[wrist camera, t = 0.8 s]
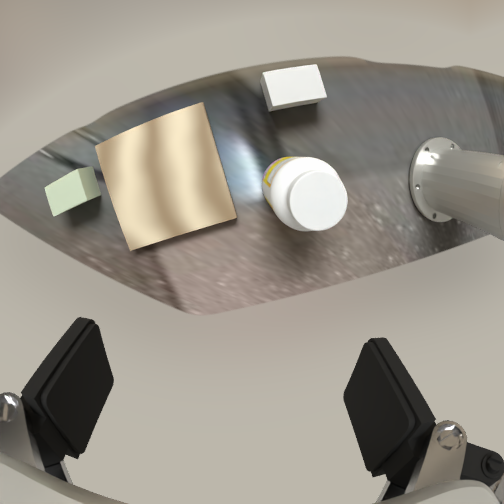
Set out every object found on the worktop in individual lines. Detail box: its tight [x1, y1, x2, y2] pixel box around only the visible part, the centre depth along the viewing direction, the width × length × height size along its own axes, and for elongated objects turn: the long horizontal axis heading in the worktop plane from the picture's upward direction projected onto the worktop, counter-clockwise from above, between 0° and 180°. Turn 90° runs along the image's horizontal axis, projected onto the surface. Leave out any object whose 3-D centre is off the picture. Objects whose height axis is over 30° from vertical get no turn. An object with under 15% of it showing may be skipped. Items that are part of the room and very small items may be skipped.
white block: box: [260, 64, 327, 112], centre depth 27 cm, size 6×4×4 cm, turn 105°
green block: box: [45, 166, 101, 216], centre depth 29 cm, size 6×4×4 cm, turn 105°
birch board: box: [95, 102, 237, 251], centre depth 30 cm, size 14×14×2 cm
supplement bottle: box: [262, 157, 348, 231], centre depth 26 cm, size 7×7×13 cm
